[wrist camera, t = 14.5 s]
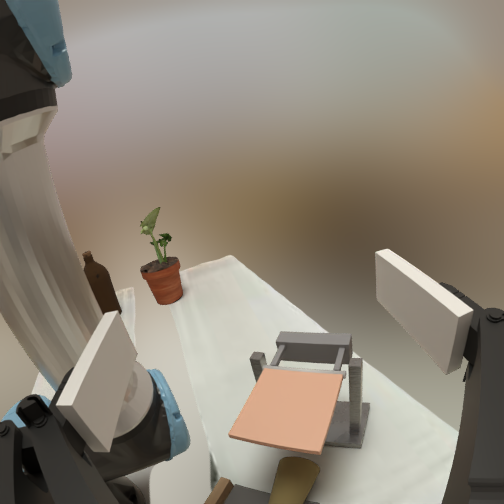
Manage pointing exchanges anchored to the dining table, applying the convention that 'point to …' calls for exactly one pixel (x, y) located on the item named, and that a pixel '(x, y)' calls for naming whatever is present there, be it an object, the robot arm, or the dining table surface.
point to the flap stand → (338, 407)
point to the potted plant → (161, 267)
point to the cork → (293, 480)
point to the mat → (250, 496)
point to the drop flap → (295, 394)
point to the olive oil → (101, 285)
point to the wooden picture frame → (220, 492)
